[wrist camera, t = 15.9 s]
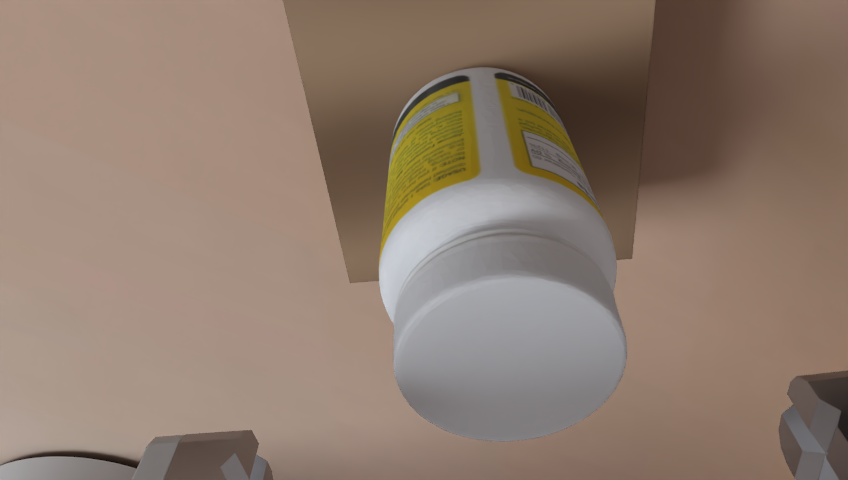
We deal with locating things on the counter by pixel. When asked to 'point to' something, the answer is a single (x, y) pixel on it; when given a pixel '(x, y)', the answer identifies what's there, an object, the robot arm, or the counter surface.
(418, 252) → the supplement bottle
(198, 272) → the counter surface
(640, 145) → the walnut block
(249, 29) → the counter surface
